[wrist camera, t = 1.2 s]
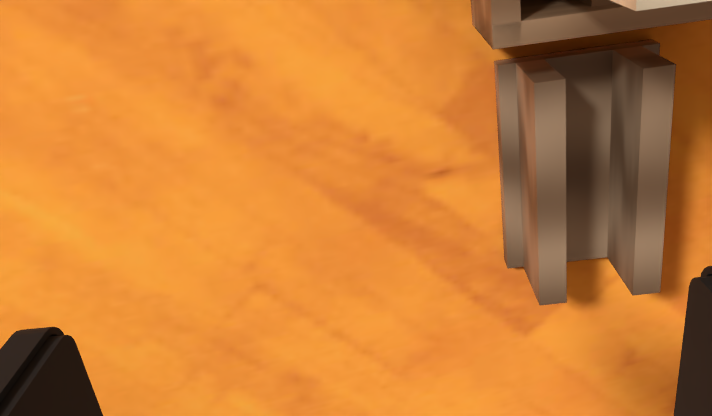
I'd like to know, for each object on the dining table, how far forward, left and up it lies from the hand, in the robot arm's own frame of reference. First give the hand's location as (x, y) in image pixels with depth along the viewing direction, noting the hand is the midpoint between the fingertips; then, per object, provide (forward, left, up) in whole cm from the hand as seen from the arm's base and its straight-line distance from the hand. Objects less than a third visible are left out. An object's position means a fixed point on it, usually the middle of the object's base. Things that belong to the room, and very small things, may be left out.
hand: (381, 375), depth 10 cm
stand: (+8, +10, -26) cm, 29 cm away
